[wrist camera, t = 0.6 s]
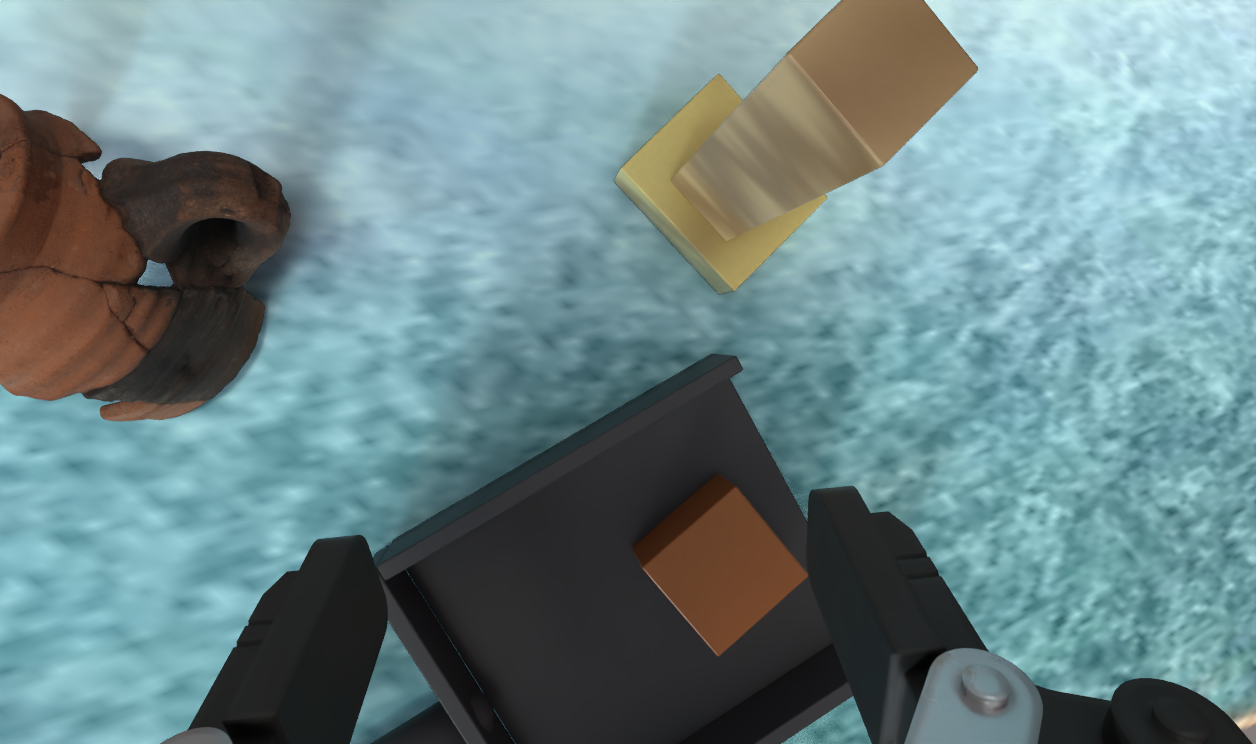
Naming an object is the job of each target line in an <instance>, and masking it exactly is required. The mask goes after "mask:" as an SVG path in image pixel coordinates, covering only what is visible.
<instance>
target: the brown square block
mask: <svg viewBox="0 0 1256 744" xmlns="http://www.w3.org/2000/svg"><path fill="white" fill-rule="evenodd" d="M632 550H633V552H634V553H635V555H636V557H637V559H638V561H639V563H640V565H641V567H642V569H643V570H644V571H645V572H646V574H647V575H648V576H649V577H650V578H651V579H652V581H653V582H654V583H655V584H656V585H657V586H658V588H659V589H660V590H661V591H662V592H663V593H664V595H665V596H666V597H667V598H668V599H669V600H670V602H671V603H672V604H673V605H674V606H675V607H676V609H677V610H678V611H679V612H680V613H681V614H682V616H683V617H684V618H685V619H686V620H687V621H688V622H689V624H690V625H691V626H692V627H693V628H694V629H695V631H696V632H697V633H698V634H699V635H700V636H701V638H702V639H703V640H704V641H705V642H706V643H707V645H708V646H709V647H710V648H711V649H712V650H713V652H714V653H715V654H716V655H717V656H720V655H721V654H722V653H723V652H724V651H726V650H727V649H728V648H729V647H730V646H731V645H732V644H733V643H734V642H736V641H737V640H738V639H739V638H740V637H741V636H742V635H743V634H744V633H746V632H747V631H748V630H749V629H750V628H751V627H752V626H753V625H754V624H756V623H757V622H758V621H759V620H760V619H761V618H762V617H763V616H764V615H766V614H767V613H768V612H769V611H770V610H771V609H772V608H773V607H774V606H776V605H777V604H778V603H779V602H780V601H781V600H782V599H783V598H784V597H786V596H787V595H788V594H789V593H790V592H791V591H792V590H793V589H794V588H796V587H797V586H798V585H799V584H800V583H801V582H802V581H803V580H805V579H806V578H807V577H808V573H807V572H806V571H805V569H804V568H803V567H802V566H801V565H800V563H799V562H798V561H797V560H796V558H795V557H794V556H793V555H792V554H791V552H790V551H789V550H788V549H787V547H786V546H785V545H784V544H783V543H782V541H781V540H780V539H779V538H778V536H777V535H776V534H775V533H774V532H773V530H772V529H771V528H770V527H769V525H768V524H767V523H766V522H765V520H764V519H763V518H762V517H761V516H760V514H759V513H758V512H757V511H756V509H755V508H754V507H753V506H752V505H751V503H750V502H749V501H748V500H747V498H746V497H745V496H744V495H743V494H742V492H741V491H740V490H739V489H738V487H737V486H735V485H734V484H732V483H731V482H729V481H728V480H727V479H725V478H724V477H722V476H721V475H719V474H716V475H715V476H714V477H712V478H711V479H710V480H709V481H708V482H707V483H706V484H704V485H703V486H702V487H701V488H700V489H699V490H697V491H696V492H695V493H694V494H693V495H692V496H691V497H689V498H688V499H687V500H686V501H685V502H684V503H683V504H681V505H680V506H679V507H678V508H677V509H676V510H674V511H673V512H672V513H671V514H670V515H669V516H668V517H666V518H665V519H664V520H663V521H662V522H661V523H659V524H658V525H657V526H656V527H655V528H654V529H653V530H651V531H650V532H649V533H648V534H647V535H646V536H645V537H643V538H642V539H641V540H640V541H639V542H638V543H636V544H635V545H634V546H633V547H632Z"/></svg>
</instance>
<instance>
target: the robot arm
mask: <svg viewBox="0 0 1256 744" xmlns="http://www.w3.org/2000/svg"><path fill="white" fill-rule="evenodd" d="M806 562H807V570H808V576H809V580H810V584H811V588H812V591H813V593H814V596H815V598H816V601H817V604H818V606H819V609H820V611H821V614H822V616H823V619H824V622H825V624H826V627H827V629H828V632H829V634H830V637H831V640H832V642H833V645H834V647H835V650H836V652H837V655H838V658H839V660H840V663H841V665H842V668H843V670H844V673H845V676H846V678H847V681H848V683H849V686H850V688H851V691H852V693H853V696H854V699H855V701H856V704H857V706H858V709H859V711H860V714H861V717H862V719H863V722H864V724H865V727H866V729H867V732H868V735H869V737H870V740H871V742H872V744H1252V743H1251V741H1250V740H1249V739H1248V738H1247V737H1246V736H1245V734H1244V733H1243V732H1242V731H1241V730H1240V728H1239V727H1238V726H1237V725H1236V724H1235V722H1234V721H1233V720H1232V719H1231V718H1230V717H1229V716H1228V715H1227V714H1226V713H1225V712H1224V711H1222V710H1221V709H1220V708H1219V707H1218V706H1216V705H1215V704H1214V703H1212V702H1211V701H1209V700H1208V699H1206V698H1205V697H1203V696H1201V695H1200V694H1198V693H1196V692H1194V691H1192V690H1190V689H1188V688H1186V687H1183V686H1181V685H1178V684H1175V683H1172V682H1168V681H1164V680H1159V679H1152V678H1139V679H1133V680H1129V681H1126V682H1124V683H1123V684H1121V685H1120V686H1119V687H1118V688H1117V689H1116V690H1115V692H1114V694H1113V697H1112V699H1111V701H1108V700H1103V699H1097V698H1091V697H1086V696H1080V695H1074V694H1069V693H1063V692H1058V691H1053V690H1049V689H1046V688H1043V687H1040V686H1037V685H1034V683H1033V682H1032V681H1031V680H1030V678H1029V677H1028V676H1027V675H1026V674H1025V673H1024V672H1023V671H1022V670H1021V669H1019V668H1018V667H1017V666H1015V665H1014V664H1013V663H1011V662H1009V661H1008V660H1006V659H1004V658H1002V657H1000V656H998V655H996V654H993V653H990V652H989V651H988V649H987V648H986V647H985V645H984V644H983V642H982V640H981V639H980V637H979V636H978V634H977V632H976V631H975V629H974V628H973V626H972V624H971V623H970V621H969V620H968V618H967V616H966V615H965V613H964V612H963V610H962V609H961V607H960V605H959V604H958V602H957V601H956V599H955V597H954V596H953V594H952V593H951V591H950V589H949V588H948V586H947V585H946V583H945V581H944V580H943V578H942V577H941V576H940V577H939V574H938V570H937V569H936V567H935V565H934V564H933V562H932V561H931V559H930V557H927V554H926V551H925V549H924V548H923V546H922V545H921V543H920V542H919V540H918V538H917V537H916V535H915V534H914V532H913V530H912V529H910V528H909V527H908V526H906V525H905V524H904V523H903V522H901V521H900V520H899V519H897V518H896V517H895V516H893V515H892V514H891V513H890V512H878V513H870V512H869V510H868V508H867V506H866V504H865V503H864V501H863V499H862V497H861V496H860V494H859V492H858V490H857V489H856V488H855V487H854V486H845V487H835V488H825V489H816V490H811V492H810V494H809V503H808V524H807V546H806ZM387 621H388V606H387V599H386V595H385V592H384V589H383V586H382V584H381V581H380V578H379V575H378V572H377V569H376V566H375V563H374V560H373V557H372V555H371V552H370V549H369V546H368V543H367V541H366V539H365V538H364V537H363V536H362V535H354V536H344V537H334V538H324V539H318V540H316V541H315V542H314V543H313V545H312V546H311V548H310V550H309V552H308V554H307V556H306V558H305V560H304V562H303V564H302V566H301V568H300V570H299V571H290V572H286V573H285V574H284V575H283V576H282V577H281V578H280V579H279V580H278V581H277V582H276V583H275V584H274V585H273V586H272V587H271V588H270V589H269V590H268V591H266V592H265V593H264V594H263V595H262V597H261V599H260V601H259V603H258V604H257V606H256V608H255V610H254V612H253V613H252V615H251V617H250V619H249V625H248V626H245V628H244V630H243V631H242V633H241V635H240V637H239V639H238V640H237V647H235V648H233V650H232V651H231V653H230V655H229V657H228V659H227V660H226V662H225V664H224V666H223V668H222V669H221V671H220V673H219V675H218V677H217V678H216V680H215V682H214V684H213V686H212V687H211V689H210V691H209V693H208V695H207V696H206V698H205V700H204V702H203V704H202V705H201V707H200V709H199V711H198V713H197V714H196V716H195V718H194V720H193V722H192V723H191V725H190V727H189V729H188V730H187V731H184V732H182V733H179V734H177V735H175V736H173V737H171V738H169V739H167V740H165V741H164V742H162V743H161V744H350V741H351V738H352V735H353V732H354V728H355V725H356V722H357V719H358V716H359V713H360V710H361V707H362V704H363V701H364V698H365V694H366V691H367V688H368V685H369V682H370V679H371V676H372V673H373V670H374V667H375V664H376V661H377V657H378V654H379V651H380V648H381V645H382V642H383V639H384V636H385V632H386V628H387Z"/></svg>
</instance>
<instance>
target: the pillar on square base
mask: <svg viewBox="0 0 1256 744" xmlns="http://www.w3.org/2000/svg"><path fill="white" fill-rule="evenodd" d="M977 71H978V67H977V66H976V64H975V63H974V62H973V61H972V59H971V58H970V57H969V56H968V54H967V53H966V52H965V51H964V49H963V48H962V47H961V46H960V45H959V43H958V42H957V41H956V40H955V38H954V37H953V36H952V35H951V33H950V32H949V31H948V30H947V28H946V27H945V26H944V25H943V23H942V22H941V21H940V20H939V19H938V17H937V16H936V15H935V14H934V12H933V11H932V10H931V9H930V7H929V6H928V5H927V4H926V2H925V1H924V0H841V1H840V2H839V3H838V4H837V5H836V6H835V7H834V8H833V9H832V10H831V11H830V12H829V13H828V14H827V15H826V16H825V17H823V18H822V19H821V20H820V21H819V22H818V23H817V24H816V25H815V26H814V27H813V28H812V29H811V30H810V31H809V32H808V33H807V34H806V35H805V36H804V37H803V38H802V39H801V40H800V41H799V42H798V43H797V44H796V45H795V46H794V47H793V48H792V49H791V50H790V51H789V52H788V53H787V54H786V55H785V56H784V57H783V58H782V59H781V60H780V61H779V62H778V63H777V64H776V66H775V67H774V68H773V69H772V70H771V71H770V72H769V73H768V74H767V75H766V76H765V77H764V79H763V80H762V81H761V82H760V83H759V84H758V85H757V86H756V87H755V88H754V89H753V90H752V92H751V93H750V94H749V95H748V96H747V97H746V98H745V99H744V100H742V99H741V98H740V97H739V95H738V94H737V93H736V92H735V91H734V90H733V89H732V87H731V86H730V85H729V84H728V83H727V82H726V81H725V79H724V78H723V77H722V76H721V75H720V74H717V75H716V76H715V77H714V78H713V79H712V80H711V81H710V82H709V83H708V84H707V85H706V86H705V87H704V88H703V89H702V90H701V91H700V92H699V93H698V94H697V95H695V96H694V97H693V98H692V99H691V100H690V101H689V102H688V103H687V104H686V105H685V106H684V107H683V108H682V109H681V110H680V111H679V112H678V113H677V114H676V115H675V116H674V117H673V118H672V119H671V120H670V121H669V122H668V123H667V124H666V125H664V126H663V127H662V128H661V129H660V130H659V131H658V132H657V133H656V134H655V135H654V136H653V137H652V138H651V139H650V140H649V141H648V142H647V143H646V144H645V145H644V146H643V147H642V148H641V149H640V150H639V151H638V152H637V153H636V154H634V155H633V156H632V157H631V158H630V159H629V160H628V161H627V162H626V163H625V164H624V165H623V166H622V167H621V169H620V170H619V172H618V174H617V176H616V177H615V179H614V182H615V183H616V184H617V185H618V186H619V187H620V188H621V190H622V191H623V192H624V193H625V194H626V195H627V196H628V197H629V198H630V199H631V200H632V201H633V202H634V203H635V205H636V206H637V207H638V208H639V209H640V210H641V211H642V212H643V213H644V214H645V215H646V216H647V217H648V219H649V220H650V221H651V222H652V223H653V224H654V225H655V226H656V227H657V228H658V229H659V230H660V231H661V232H662V234H663V235H664V236H665V237H666V238H667V239H668V240H669V241H670V242H671V243H672V244H673V245H674V246H675V248H676V249H677V250H678V251H679V252H680V253H681V254H682V255H683V256H684V257H685V258H686V259H687V260H688V261H689V263H690V264H691V265H692V266H693V267H694V268H695V269H696V270H697V271H698V272H699V273H700V274H701V275H702V276H703V278H704V279H705V280H706V281H707V282H708V283H709V284H710V285H711V286H712V287H713V288H714V289H715V290H716V292H717V293H718V294H723V293H728V292H732V291H735V290H736V289H737V288H738V287H739V286H740V285H741V284H742V283H743V282H744V281H745V280H746V279H747V278H748V277H749V276H750V275H751V274H752V273H753V272H754V271H755V270H756V269H757V268H758V267H759V266H760V265H761V264H762V263H763V262H764V261H765V260H766V259H767V258H768V257H769V256H770V255H771V254H772V253H773V252H774V251H775V250H776V249H777V248H778V247H779V246H780V245H781V244H782V243H783V242H784V241H785V240H786V239H787V238H788V237H789V236H790V235H791V234H792V233H793V232H794V231H795V230H796V229H797V228H798V227H799V226H800V225H801V224H802V223H803V222H804V221H805V220H806V219H807V218H808V217H809V216H810V215H811V214H812V213H813V212H814V211H815V210H816V209H817V208H818V207H819V206H820V205H821V204H822V203H823V202H824V201H825V200H826V199H827V196H826V195H825V194H826V193H828V192H830V191H832V190H834V189H837V188H839V187H841V186H843V185H845V184H847V183H849V182H851V181H853V180H855V179H857V178H859V177H862V176H864V175H866V174H868V173H870V172H872V171H874V170H876V169H878V168H880V167H882V166H884V165H885V164H886V163H887V162H888V161H889V160H890V159H891V158H892V157H893V156H894V155H895V154H896V153H897V152H898V151H899V150H900V149H901V148H902V147H903V146H904V145H905V144H906V143H907V142H908V141H909V140H910V139H911V138H912V137H913V136H914V135H915V134H916V133H917V132H918V131H919V130H920V129H921V128H922V127H923V126H924V125H925V124H926V123H927V122H928V121H929V120H930V119H931V118H932V117H933V116H934V115H935V114H936V113H937V112H938V111H939V110H940V109H941V108H942V107H943V106H944V105H945V104H946V103H947V102H948V101H949V100H950V99H951V98H952V97H953V96H954V95H955V94H956V93H957V92H958V91H959V90H960V89H961V88H962V86H963V85H964V84H965V83H966V82H967V81H968V80H969V79H970V78H971V77H972V76H973V75H974V74H975V73H976V72H977Z"/></svg>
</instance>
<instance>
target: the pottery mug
mask: <svg viewBox="0 0 1256 744" xmlns="http://www.w3.org/2000/svg"><path fill="white" fill-rule="evenodd" d="M101 153H102V151H101V149H100V147H99V146H98V145H97V144H96V143H95V142H94V141H92V140H91V139H90V138H89V137H88V136H87V135H86V134H85V133H84V132H82V131H80V130H79V129H78V128H77V127H76V126H75V125H74V124H73V123H72V122H69V121H68V120H65V119H63V118H61V117H59V116H56V115H53V114H51V113H48V112H47V111H42V110H32V111H23V110H22V109H21V108H20V107H19V106H18V105H17V104H16V103H15V102H14V101H12V100H11V99H9V98H7V97H6V96H4V95H2V94H0V384H1V385H2V386H3V387H4V388H5V389H6V390H7V391H9V392H10V393H12V394H14V395H16V396H27V397H31V398H35V399H42V400H48V401H52V400H57V399H60V398H63V397H67V396H70V395H73V394H75V393H82V394H83V396H84V397H85V398H87V399H97V400H101V401H109V402H112V401H115V400H118V401H120V402H116V403H113V404H108V405H104V406H102V407H101V408H100V415H101V417H102V418H103V419H105V420H110V421H134V420H144V419H154V420H163V419H168V418H173V417H177V416H180V415H182V414H185V413H188V412H190V411H192V410H194V409H195V408H197V407H199V406H200V405H202V404H204V403H205V402H206V401H207V400H210V399H212V398H213V397H214V396H216V395H217V394H218V393H219V392H220V391H221V390H222V389H223V388H224V387H225V386H226V385H227V384H228V383H230V382H231V381H232V380H233V379H234V378H235V377H236V375H237V374H238V372H239V370H240V369H241V368H242V366H243V365H244V364H245V362H246V361H247V360H248V359H249V357H250V355H251V353H252V351H253V350H254V348H255V345H256V343H257V339H258V334H259V332H260V330H261V326H262V322H263V317H264V311H265V306H264V304H263V303H262V302H261V301H259V300H257V299H255V298H253V297H252V295H251V294H250V293H249V292H247V291H245V289H244V288H243V287H242V285H244V284H245V283H247V282H248V281H249V280H250V279H251V278H252V276H253V274H254V272H255V269H257V268H258V267H259V266H260V265H261V264H263V263H264V262H265V261H266V260H267V259H269V258H270V257H272V256H273V255H274V254H275V253H276V252H277V251H278V250H279V249H280V247H281V245H282V243H283V241H284V238H285V236H286V234H287V232H288V230H289V226H290V218H291V213H290V208H289V205H288V202H287V201H286V200H285V198H284V196H283V194H282V186H281V184H280V182H279V181H278V180H277V179H276V178H274V177H272V176H271V175H269V174H268V173H266V172H264V171H263V170H261V169H260V168H259V167H257V166H256V165H254V164H252V163H251V162H249V161H246V160H244V159H242V158H240V157H237V156H234V155H231V154H226V153H221V152H212V151H197V152H188V153H181V154H178V155H175V156H173V157H170V158H168V159H165V160H162V161H158V162H150V161H145V160H139V159H131V158H119V159H116V160H113V161H111V162H110V163H108V164H107V165H106V167H105V168H104V170H103V172H102V179H101V180H99V179H97V178H95V177H94V176H93V175H92V173H91V172H90V171H88V170H87V169H85V168H84V166H83V165H82V164H81V163H85V162H89V161H95V160H97V159H99V158H100V156H101ZM148 260H152V261H154V262H156V263H165V264H166V267H167V269H168V271H169V273H170V275H171V279H172V280H173V284H172V285H171V286H170V287H165V286H163V287H157V286H150V285H149V286H144V285H139V284H137V282H138V280H139V278H140V277H141V276H142V274H143V273H144V272H145V269H146V266H147V261H148Z"/></svg>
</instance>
